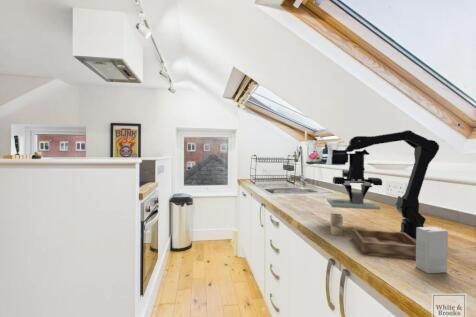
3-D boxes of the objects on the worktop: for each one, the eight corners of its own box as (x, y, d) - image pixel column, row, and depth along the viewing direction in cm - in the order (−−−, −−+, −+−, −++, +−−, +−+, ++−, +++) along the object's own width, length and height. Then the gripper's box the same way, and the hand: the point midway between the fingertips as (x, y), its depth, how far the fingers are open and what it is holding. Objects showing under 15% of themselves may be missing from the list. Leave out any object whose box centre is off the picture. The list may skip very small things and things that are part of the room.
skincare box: (433, 265, 69) (433, 225, 68) (448, 273, 64) (449, 230, 64) (414, 266, 68) (414, 226, 68) (428, 274, 64) (429, 231, 63)
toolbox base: (404, 243, 86) (404, 232, 86) (425, 259, 72) (425, 247, 72) (352, 239, 90) (352, 228, 90) (362, 254, 77) (363, 242, 77)
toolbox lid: (368, 202, 106) (368, 191, 106) (379, 209, 92) (380, 196, 92) (327, 200, 110) (327, 190, 110) (332, 207, 96) (332, 195, 96)
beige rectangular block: (340, 232, 98) (340, 214, 98) (342, 235, 94) (342, 216, 94) (330, 231, 99) (330, 213, 99) (332, 235, 95) (332, 215, 95)
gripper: (373, 164, 106) (372, 198, 107) (330, 164, 110) (330, 196, 111) (383, 165, 95) (382, 203, 96) (335, 165, 99) (334, 200, 100)
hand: (356, 200), depth 101 cm, fingers closed on toolbox lid, 4 cm apart
